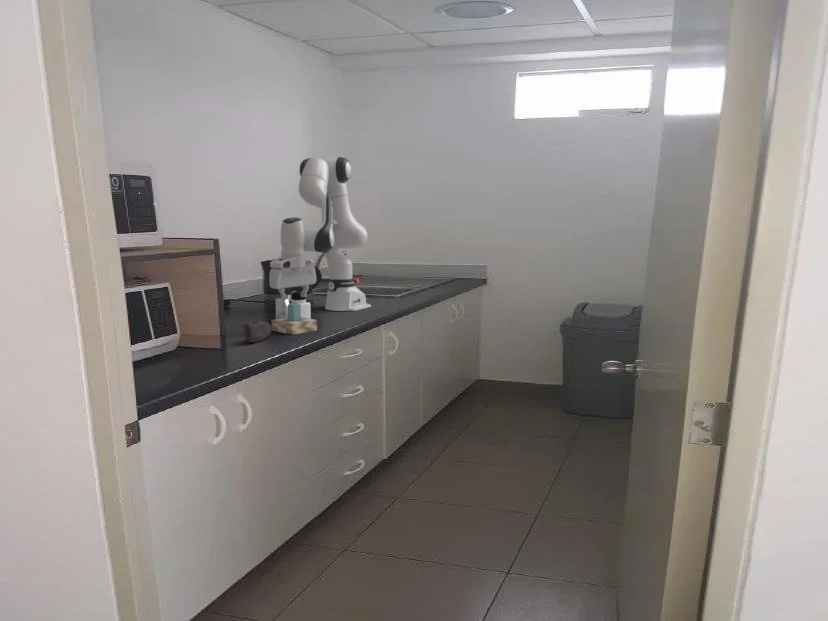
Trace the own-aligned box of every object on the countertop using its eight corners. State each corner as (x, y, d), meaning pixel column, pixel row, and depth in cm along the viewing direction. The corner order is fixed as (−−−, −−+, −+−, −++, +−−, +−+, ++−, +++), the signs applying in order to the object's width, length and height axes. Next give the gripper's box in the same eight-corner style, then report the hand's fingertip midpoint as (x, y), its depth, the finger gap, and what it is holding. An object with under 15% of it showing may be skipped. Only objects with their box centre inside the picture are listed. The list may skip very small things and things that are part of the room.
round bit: (284, 322, 258) (283, 297, 256) (292, 323, 254) (292, 299, 253) (273, 323, 254) (272, 299, 252) (282, 325, 250) (281, 300, 249)
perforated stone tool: (264, 336, 230) (264, 317, 229) (277, 337, 228) (276, 318, 227) (239, 344, 216) (238, 324, 215) (251, 345, 214) (251, 325, 213)
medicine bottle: (311, 319, 264) (310, 291, 262) (299, 322, 258) (299, 293, 256) (298, 317, 268) (297, 289, 266) (286, 320, 262) (285, 291, 260)
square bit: (295, 329, 243) (294, 303, 242) (300, 330, 241) (300, 304, 239) (288, 330, 241) (287, 304, 239) (294, 331, 238) (293, 305, 237)
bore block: (296, 326, 249) (296, 316, 248) (316, 330, 242) (316, 319, 241) (271, 330, 240) (271, 320, 239) (292, 334, 232) (292, 324, 232)
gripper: (308, 259, 247) (309, 294, 249) (266, 263, 231) (267, 300, 233) (319, 260, 243) (320, 295, 245) (277, 264, 227) (278, 302, 229)
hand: (294, 298), depth 239 cm, fingers open, 8 cm apart
